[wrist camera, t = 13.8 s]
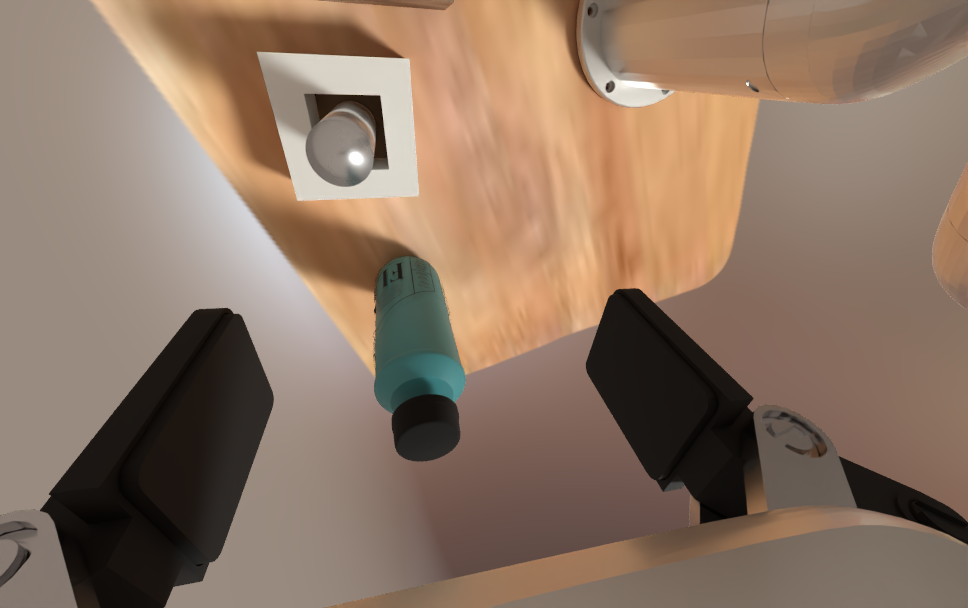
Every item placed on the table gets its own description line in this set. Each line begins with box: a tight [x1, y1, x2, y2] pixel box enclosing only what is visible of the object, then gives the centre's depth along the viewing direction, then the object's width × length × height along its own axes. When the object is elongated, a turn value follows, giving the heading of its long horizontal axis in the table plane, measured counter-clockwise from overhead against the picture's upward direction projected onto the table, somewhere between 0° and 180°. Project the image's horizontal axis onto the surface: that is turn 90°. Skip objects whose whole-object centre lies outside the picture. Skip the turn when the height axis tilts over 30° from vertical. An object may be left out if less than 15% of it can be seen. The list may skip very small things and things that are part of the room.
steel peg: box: [305, 101, 377, 187], centre depth 23 cm, size 3×3×11 cm
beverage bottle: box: [373, 256, 466, 461], centre depth 28 cm, size 6×7×20 cm
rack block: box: [257, 52, 419, 201], centre depth 26 cm, size 9×9×4 cm
